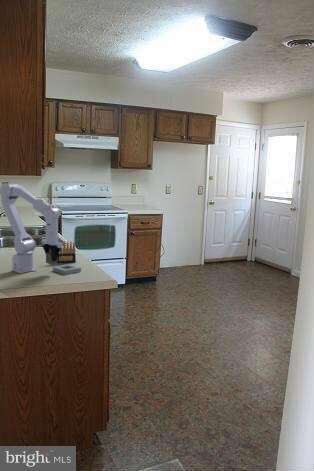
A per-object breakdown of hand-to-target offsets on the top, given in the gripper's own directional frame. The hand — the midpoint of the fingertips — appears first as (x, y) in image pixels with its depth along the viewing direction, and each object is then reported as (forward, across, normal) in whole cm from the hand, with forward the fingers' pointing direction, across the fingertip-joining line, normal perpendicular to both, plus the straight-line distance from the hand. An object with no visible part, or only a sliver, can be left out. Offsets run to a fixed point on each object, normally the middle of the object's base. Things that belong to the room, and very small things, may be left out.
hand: (51, 259), depth 201 cm
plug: (+2, 0, 0) cm, 2 cm away
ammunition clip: (+7, -16, +20) cm, 27 cm away
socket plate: (+7, 0, +9) cm, 11 cm away
